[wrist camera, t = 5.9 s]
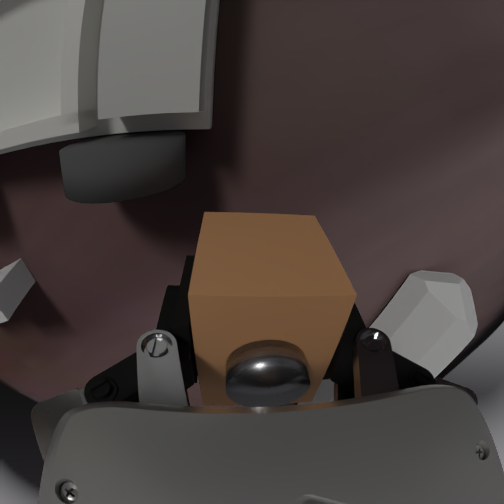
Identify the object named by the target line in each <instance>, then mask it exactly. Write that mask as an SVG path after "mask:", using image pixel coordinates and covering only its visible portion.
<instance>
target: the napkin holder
mask: <svg viewBox="0 0 504 504" xmlns="http://www.w3.org/2000/svg"><path fill="white" fill-rule="evenodd" d="M35 282H36V281H35V279H34V278H33V276H32V275H31V273H30V272H29V270H28V269H27V267H26V265H25V264H24V262H23V260H22V259H19V260H17V261H15V262H13V263H12V264H10V265H8V266H6V267H5V268H3V269H1V270H0V323H2V322H5V321H8V320H9V319H10V317H11V316H12V314H13V313H14V311H15V310H16V308H17V307H18V305H19V304H20V302H21V301H22V299H23V298H24V297H25V295H26V294H27V292H28V291H29V290H30V288H31V287H32V286H33V284H34V283H35Z"/></svg>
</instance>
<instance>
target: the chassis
mask: <svg viewBox="0 0 504 504" xmlns="http://www.w3.org/2000/svg"><path fill="white" fill-rule="evenodd" d="M219 3H220V0H0V154H4V153H8V152H12V151H16V150H20V149H24V148H29V147H33V146H38V145H43V144H48V143H53V142H59V141H65V140H71V139H77V138H84V137H91V136H97V137H93V138H89V139H85V140H82V141H79V142H76V143H73V144H70V145H68V146H66V147H64V148H62V149H61V150H60V151H59V155H60V163H61V171H62V178H63V185H64V191H65V196H66V197H67V198H68V199H69V200H72V201H75V202H80V203H110V202H119V201H126V200H131V199H137V198H141V197H146V196H149V195H153V194H157V193H160V192H163V191H165V190H168V189H170V188H173V187H175V186H177V185H178V184H180V183H181V182H182V181H183V180H184V179H185V177H186V134H185V133H184V132H182V131H176V130H181V129H210V128H211V127H212V112H213V89H214V70H215V53H216V39H217V26H218V14H219ZM99 135H102V136H99Z"/></svg>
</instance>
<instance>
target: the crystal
mask: <svg viewBox="0 0 504 504" xmlns="http://www.w3.org/2000/svg"><path fill="white" fill-rule="evenodd" d="M477 325H478V324H477V318H476V313H475V307H474V302H473V298H472V293H471V289H470V288H469V286H468V285H467V284H466V282H465V281H464V279H462V278H461V277H459V276H457V275H455V274H453V273H444V272H433V271H423V270H420V271H417V272H414V273H412V274H410V275H409V276H408V278H407V279H406V281H405V282H404V283H403V285H402V286H401V288H400V289H399V290H398V292H397V293H396V294H395V296H394V297H393V298H392V300H391V301H390V302H389V304H388V305H387V306H386V307H385V309H384V310H383V311H382V313H381V314H380V315H379V316H378V318H377V319H376V320H375V321H374V323H373V324H372V325H371V326H370V327H369V328H375V329H378V330H380V331H382V332H384V333H385V334H386V335H387V336H388V338H389V339H390V342H391V346H392V351H394V352H396V353H398V354H399V355H401V356H403V357H405V358H407V359H409V360H411V361H412V362H414V363H416V364H418V365H420V366H422V367H424V368H426V369H427V370H428V371H430V372H431V374H432V375H433V377H434V378H435V377H436V376H437V375H438V374H439V373H440V372H441V371H442V370H443V369H444V368H445V367H446V366H447V365H448V364H449V363H450V362H451V361H452V360H453V359H454V358H455V357H456V356H457V355H458V354H459V353H460V352H461V351H462V350H463V349H464V347H465V346H466V345H467V344H468V343H469V342H470V341H471V340H472V338H473V337H474V336H475V332H476V329H477ZM391 336H392V337H391ZM333 395H334V382H332V381H331V380H330V379H325V380H322V381H321V384H320V386H319V388H318V390H317V392H316V394H315V396H314V398H313V400H312V401H311V402H300V403H298V404H297V405H302V404H313V403H322V402H331V401H334V396H333Z"/></svg>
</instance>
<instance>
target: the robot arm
mask: <svg viewBox="0 0 504 504" xmlns="http://www.w3.org/2000/svg"><path fill="white" fill-rule="evenodd" d="M194 260H195V256H188V255H187V257H186V261H185V265H184V270H183V274H182V278H181V283H180V286H173V285H168V287H167V289H166V293H165V297H164V301H163V305H162V308H161V312H160V316H159V320H158V324H157V328H156V330H153V331H149V332H147V333H145V334H143V335H142V336H141V337H140V338H139V340H138V342H137V352H136V353H134V354H132V355H131V356H129V357H127V358H126V359H124V360H122V361H120V362H119V363H117V364H115V365H114V366H112V367H110V368H109V369H107V370H105V371H103V372H102V373H100V374H98V375H96V376H95V377H93V378H92V379H91V380H89V381H88V383H87V384H86V386H85V388H84V389H82V390H79V389H78V388H77V389H74V390H71V391H69V392H66V393H64V394H61V395H58V396H56V397H53V398H50V399H48V400H45V401H42V402H40V403H38V404H36V405H35V407H34V408H33V410H32V413H31V420H32V423H33V427H34V431H35V435H36V438H37V441H38V445H39V448H40V451H41V454H42V457H43V460H44V468H43V473H42V480H41V486H40V493H39V501H38V504H504V472H503V469H502V465H501V462H500V459H499V456H498V453H497V450H496V447H495V444H494V441H493V439H492V436H491V433H490V431H489V429H488V426H487V424H486V422H485V420H484V417H483V415H482V413H481V411H480V409H479V408H478V406H477V404H478V402H477V397H476V394H475V393H474V392H473V391H472V390H470V389H469V388H466V387H463V386H460V385H457V384H454V383H451V382H449V381H446V380H443V379H441V378H437V379H436V380H435V379H434V377H433V375H432V374H431V372H430V371H428V370H427V369H426V368H424V367H422V366H420V365H418V364H416V363H414V362H412V361H411V360H409V359H407V358H405V357H403V356H401V355H399V354H398V353H396V352H394V351H392V346H391V342H390V339H389V338H388V336H387V335H386V334H385V333H384V332H382V331H380V330H378V329H375V328H366V327H365V324H364V322H363V320H362V318H361V316H360V313H359V311H358V309H357V307H356V305H355V303H354V305H353V307H352V310H351V313H350V315H349V318H348V321H347V323H346V326H345V328H344V331H343V333H342V336H341V338H340V341H339V343H338V345H337V348H336V350H335V352H334V355H333V357H332V359H331V362H330V364H329V366H328V368H327V371H326V373H325V375H324V377H323V379H322V380H325V379H330V380H331V381H332V382H334V401H331V402H322V403H313V404H302V405H290V406H273V407H236V408H229V407H194V406H190V403H189V398H188V393H187V389H188V388H189V387H191V386H192V385H193V384H194V383H197V375H198V371H197V365H196V358H195V350H194V343H193V335H192V327H191V319H190V310H189V300H188V292H189V286H190V281H191V275H192V270H193V265H194Z"/></svg>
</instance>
